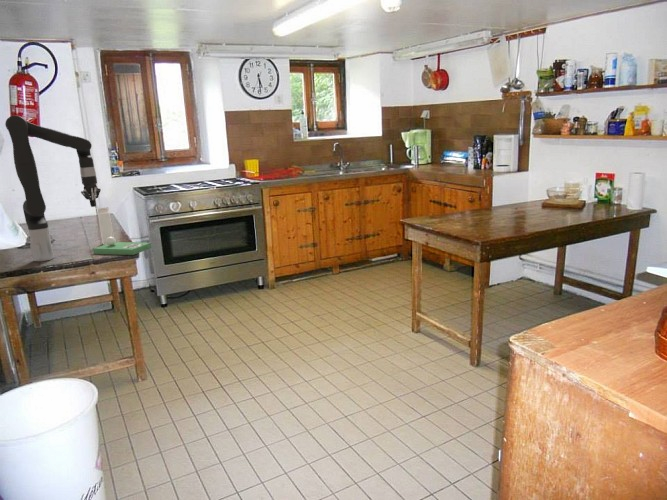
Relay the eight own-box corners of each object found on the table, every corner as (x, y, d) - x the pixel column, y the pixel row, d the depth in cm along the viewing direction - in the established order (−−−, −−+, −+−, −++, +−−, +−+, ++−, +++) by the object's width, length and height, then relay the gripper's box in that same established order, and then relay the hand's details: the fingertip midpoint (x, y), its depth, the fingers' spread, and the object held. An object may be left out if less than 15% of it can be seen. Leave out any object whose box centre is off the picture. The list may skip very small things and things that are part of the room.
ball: (112, 246, 277) (111, 237, 275) (105, 246, 278) (103, 237, 277) (118, 244, 281) (117, 235, 280) (111, 244, 283) (109, 235, 281)
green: (133, 254, 267) (132, 249, 267) (93, 253, 275) (92, 248, 274) (151, 247, 282) (150, 242, 282) (113, 247, 289) (112, 242, 289)
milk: (102, 243, 300) (96, 208, 295) (113, 242, 304) (107, 206, 299) (104, 245, 296) (98, 209, 290) (115, 243, 299) (109, 207, 294)
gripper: (85, 176, 265) (90, 208, 269) (102, 174, 277) (107, 204, 282) (73, 176, 267) (79, 208, 271) (91, 174, 280) (96, 204, 284)
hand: (93, 206), depth 276 cm, fingers closed
